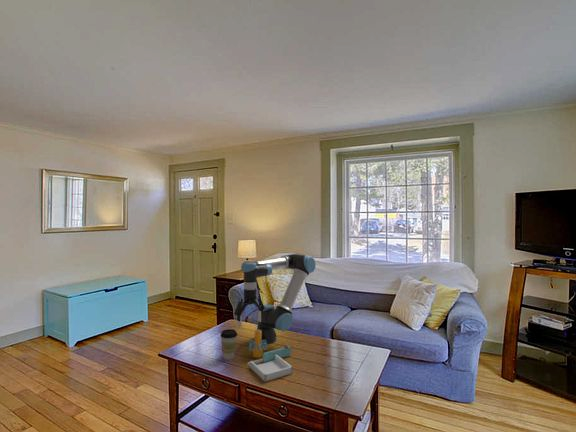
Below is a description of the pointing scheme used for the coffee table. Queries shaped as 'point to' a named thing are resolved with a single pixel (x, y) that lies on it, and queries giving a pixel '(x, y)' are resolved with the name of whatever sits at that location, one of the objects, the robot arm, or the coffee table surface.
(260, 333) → the orange tube with rings
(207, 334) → the coffee table surface
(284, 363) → the white square tray
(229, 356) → the coffee cup
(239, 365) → the coffee table surface
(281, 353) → the gate
